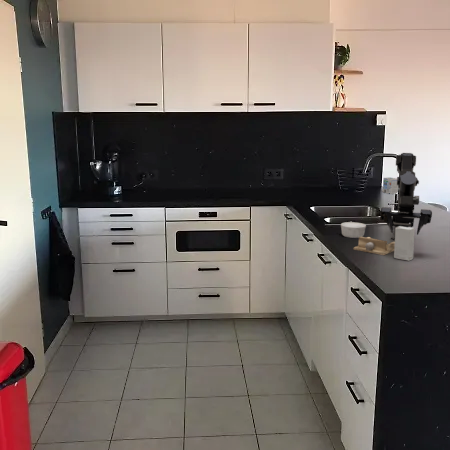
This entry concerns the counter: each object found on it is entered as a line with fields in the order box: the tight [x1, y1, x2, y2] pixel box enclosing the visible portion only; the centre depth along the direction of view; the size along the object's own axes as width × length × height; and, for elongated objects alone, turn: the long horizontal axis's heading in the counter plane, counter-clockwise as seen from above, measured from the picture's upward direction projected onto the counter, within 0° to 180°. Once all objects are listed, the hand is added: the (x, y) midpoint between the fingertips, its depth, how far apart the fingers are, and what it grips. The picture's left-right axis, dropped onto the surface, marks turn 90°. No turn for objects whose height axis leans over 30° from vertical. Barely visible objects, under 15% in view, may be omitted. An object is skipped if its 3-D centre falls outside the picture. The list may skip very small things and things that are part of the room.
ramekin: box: [340, 221, 367, 239], centre depth 229 cm, size 11×11×5 cm
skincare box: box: [393, 226, 416, 262], centre depth 191 cm, size 6×4×12 cm
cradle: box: [353, 236, 395, 256], centre depth 206 cm, size 14×13×5 cm
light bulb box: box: [382, 177, 398, 195], centre depth 363 cm, size 11×7×11 cm, turn 17°
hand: (404, 233), depth 192 cm, fingers open, 9 cm apart
